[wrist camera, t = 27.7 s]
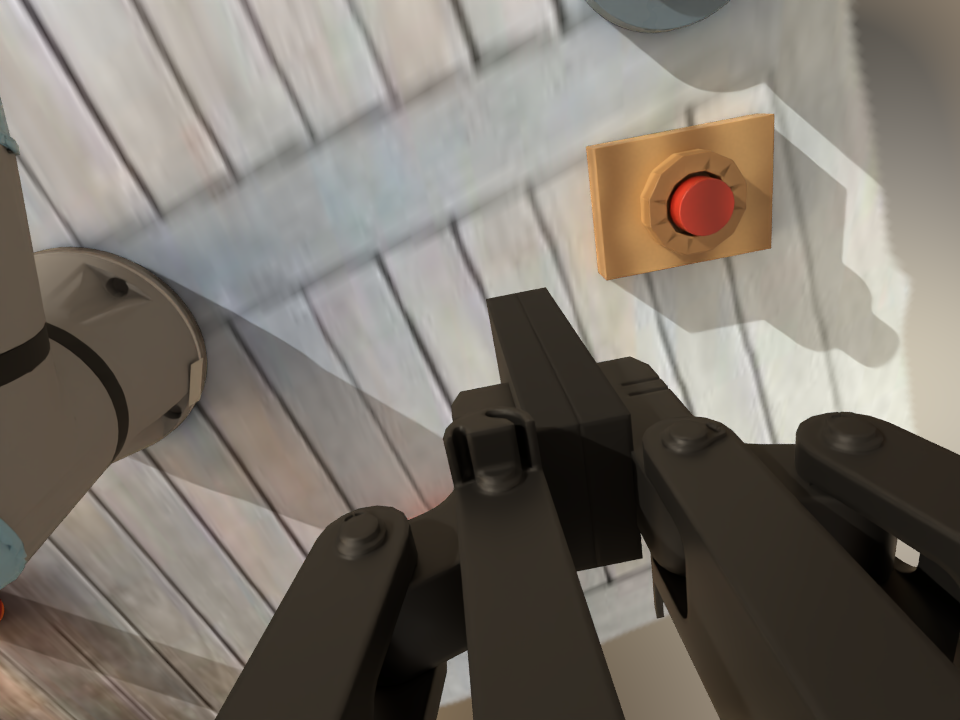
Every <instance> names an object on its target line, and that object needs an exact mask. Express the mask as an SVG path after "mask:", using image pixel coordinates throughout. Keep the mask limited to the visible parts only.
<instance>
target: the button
mask: <svg viewBox="0 0 960 720" xmlns="http://www.w3.org/2000/svg"><path fill="white" fill-rule="evenodd" d="M734 204H735V202H734V195H733V192H732V190H731V188H730V187H729V186H728V185H727V184H726V183H725V182H723V181H721V180H719V179H716V178H711V177H707V176H694V177H691V178H688V179H687V180H685V181H683V182H682V183H681V184H680V185H679V186H678V187H677V188H676V190H675V191H674V193H673V195H672V197H671V201H670V215H671V218H672V220H673V222H674V223H675V224H676V225H677V226H678V227H679V228H680V229H682V230H685V231H687V232H689V233H691V234H693V235H696V236H708V235H712V234H714V233H716V232H718V231H719V230H721V229H722V228H723V227H724V226H725V225H726V224H727V223H728V221H729V220H730V218H731V216H732V214H733V210H734Z"/></svg>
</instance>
